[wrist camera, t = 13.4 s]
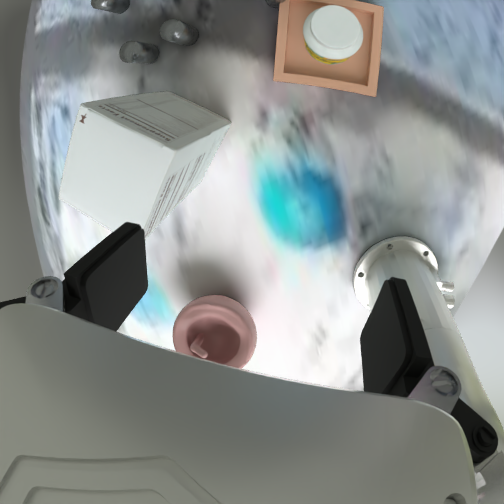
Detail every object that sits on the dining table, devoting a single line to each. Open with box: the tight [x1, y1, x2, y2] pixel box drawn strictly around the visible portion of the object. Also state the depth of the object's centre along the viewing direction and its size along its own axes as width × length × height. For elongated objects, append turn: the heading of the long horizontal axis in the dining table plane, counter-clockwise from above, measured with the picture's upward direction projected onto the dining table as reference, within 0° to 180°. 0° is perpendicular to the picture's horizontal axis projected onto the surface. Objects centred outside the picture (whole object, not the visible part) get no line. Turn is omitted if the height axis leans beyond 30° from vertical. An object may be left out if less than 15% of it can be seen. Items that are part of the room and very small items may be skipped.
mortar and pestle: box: [173, 295, 257, 369], centre depth 43 cm, size 12×12×12 cm
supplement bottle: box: [303, 5, 363, 65], centre depth 22 cm, size 5×5×10 cm
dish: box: [273, 0, 384, 97], centre depth 26 cm, size 11×11×2 cm
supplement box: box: [59, 91, 231, 239], centre depth 28 cm, size 10×9×17 cm
